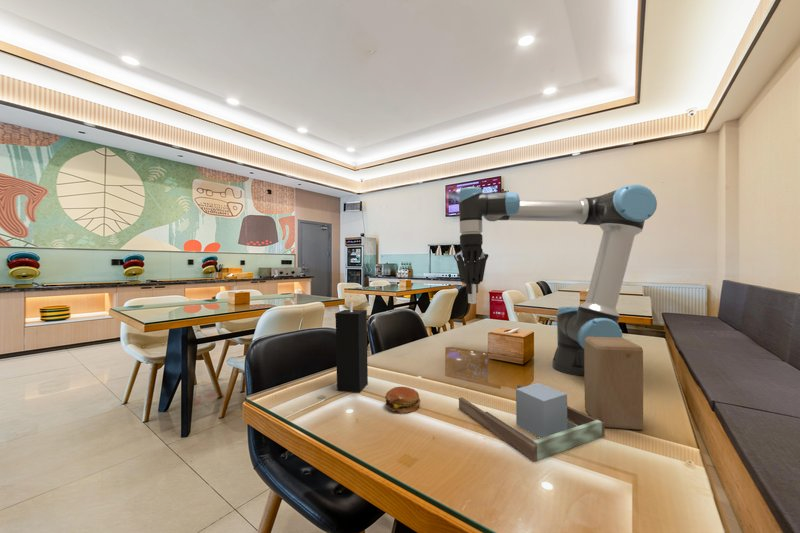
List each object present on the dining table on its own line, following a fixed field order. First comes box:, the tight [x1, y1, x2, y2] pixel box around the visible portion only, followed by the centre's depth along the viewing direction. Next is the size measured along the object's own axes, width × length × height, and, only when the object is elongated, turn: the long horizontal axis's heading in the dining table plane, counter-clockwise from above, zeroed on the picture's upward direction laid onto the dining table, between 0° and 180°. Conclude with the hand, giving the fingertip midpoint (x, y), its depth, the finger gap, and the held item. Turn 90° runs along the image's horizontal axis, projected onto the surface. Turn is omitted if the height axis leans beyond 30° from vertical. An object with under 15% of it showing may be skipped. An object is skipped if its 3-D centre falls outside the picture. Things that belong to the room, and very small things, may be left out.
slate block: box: [515, 382, 568, 439], centre depth 78 cm, size 8×8×9 cm
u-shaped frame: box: [458, 384, 606, 462], centre depth 81 cm, size 22×26×4 cm
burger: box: [384, 386, 421, 415], centre depth 91 cm, size 10×9×5 cm
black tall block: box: [334, 301, 369, 393], centre depth 105 cm, size 8×8×28 cm
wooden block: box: [583, 337, 644, 431], centre depth 81 cm, size 10×10×20 cm
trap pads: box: [485, 411, 578, 443], centre depth 81 cm, size 18×16×1 cm
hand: (472, 303), depth 110 cm, fingers closed
